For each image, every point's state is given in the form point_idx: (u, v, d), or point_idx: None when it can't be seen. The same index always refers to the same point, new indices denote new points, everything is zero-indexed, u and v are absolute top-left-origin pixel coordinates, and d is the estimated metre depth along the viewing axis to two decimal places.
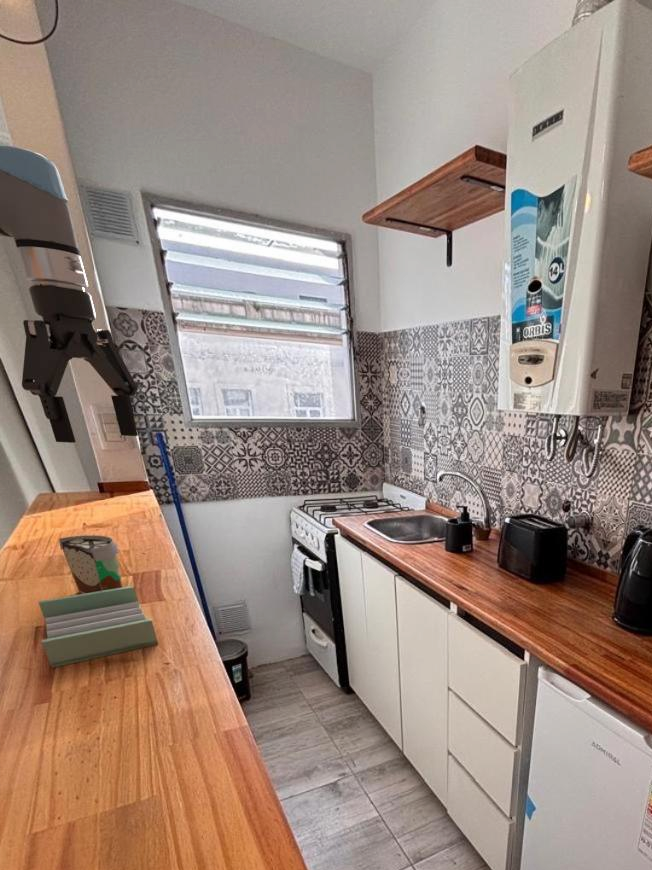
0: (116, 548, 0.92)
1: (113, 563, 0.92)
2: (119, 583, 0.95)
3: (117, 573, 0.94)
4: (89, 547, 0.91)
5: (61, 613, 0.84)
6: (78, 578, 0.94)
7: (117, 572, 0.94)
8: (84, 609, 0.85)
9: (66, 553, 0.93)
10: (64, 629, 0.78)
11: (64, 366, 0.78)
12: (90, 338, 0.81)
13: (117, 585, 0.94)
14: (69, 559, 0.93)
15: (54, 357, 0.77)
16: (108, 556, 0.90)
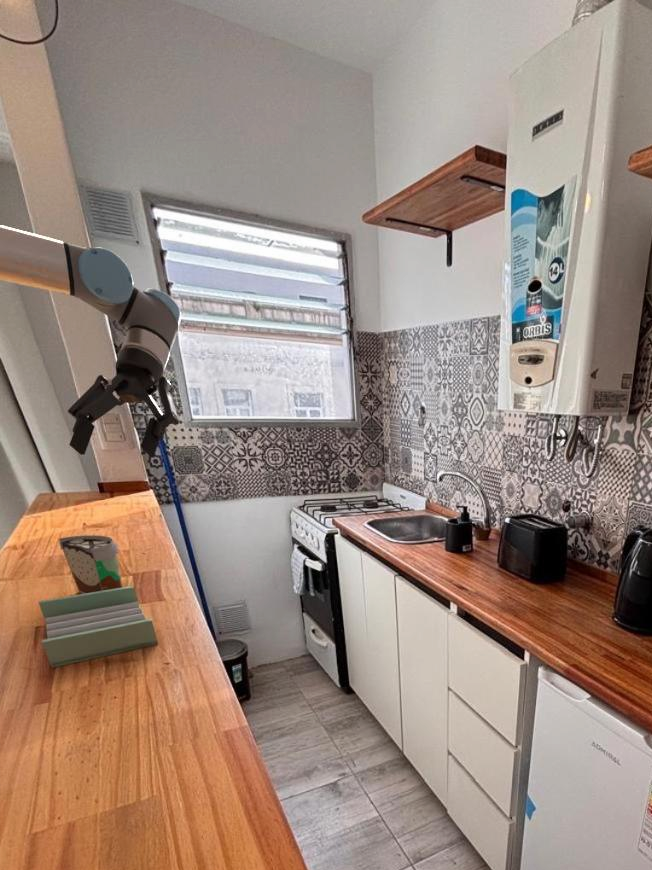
0: (116, 548, 0.92)
1: (113, 563, 0.92)
2: (119, 583, 0.95)
3: (117, 573, 0.94)
4: (89, 547, 0.91)
5: (61, 613, 0.84)
6: (78, 578, 0.94)
7: (117, 572, 0.94)
8: (84, 609, 0.85)
9: (66, 553, 0.93)
10: (64, 629, 0.78)
11: None
12: None
13: (117, 585, 0.94)
14: (69, 559, 0.93)
15: (153, 401, 0.99)
16: (108, 556, 0.90)
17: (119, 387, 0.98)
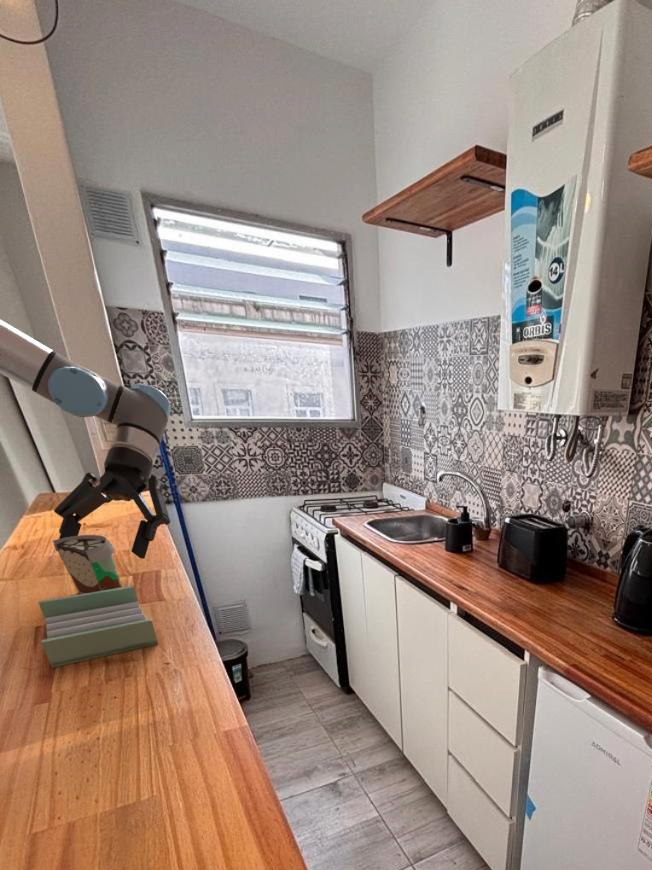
0: (111, 547, 0.92)
1: (109, 563, 0.91)
2: (118, 582, 0.94)
3: (115, 572, 0.93)
4: (84, 548, 0.90)
5: (61, 613, 0.84)
6: (76, 579, 0.94)
7: (114, 571, 0.93)
8: (84, 609, 0.85)
9: (62, 555, 0.92)
10: (64, 629, 0.78)
11: None
12: None
13: (116, 585, 0.94)
14: (66, 561, 0.93)
15: (143, 500, 0.98)
16: (104, 557, 0.89)
17: (108, 486, 0.97)
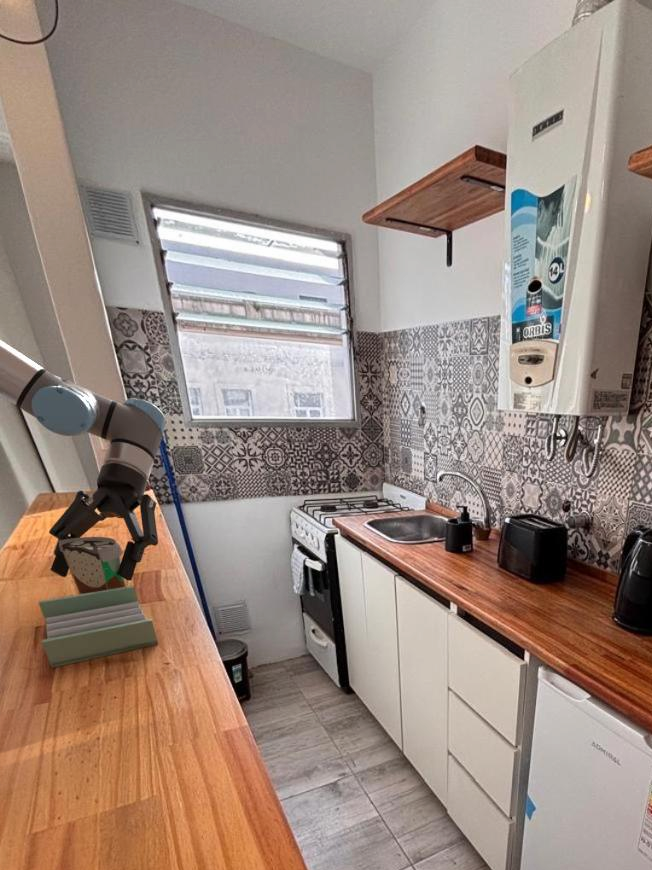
0: (120, 549, 0.92)
1: (118, 564, 0.92)
2: (123, 584, 0.94)
3: None
4: (93, 548, 0.90)
5: (61, 613, 0.84)
6: (80, 580, 0.93)
7: None
8: (84, 609, 0.85)
9: (67, 555, 0.92)
10: (64, 629, 0.78)
11: None
12: None
13: (122, 586, 0.94)
14: (70, 561, 0.92)
15: (134, 518, 0.96)
16: (114, 557, 0.90)
17: (100, 503, 0.96)
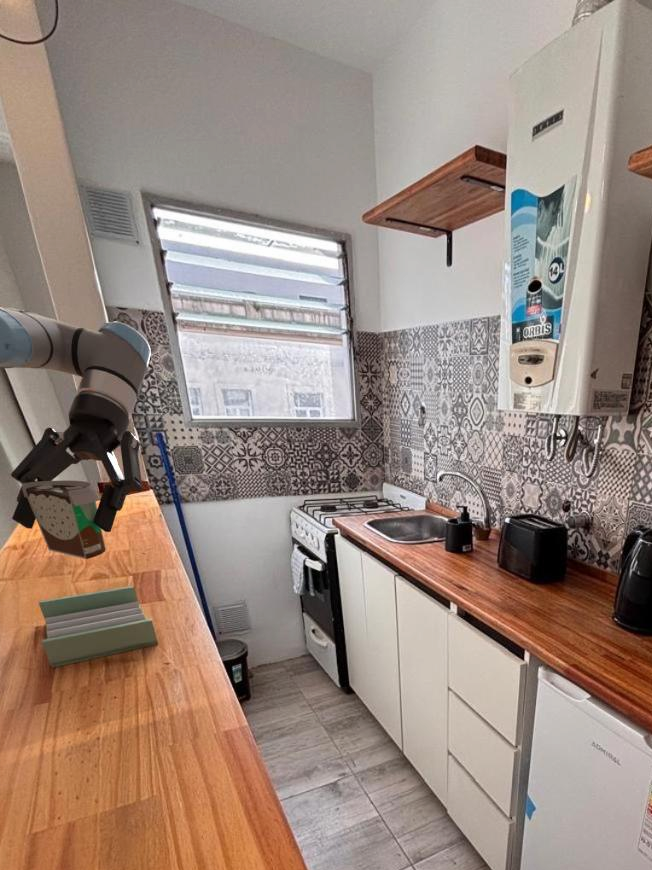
0: (96, 493, 0.77)
1: (93, 511, 0.76)
2: (101, 537, 0.79)
3: None
4: (63, 491, 0.75)
5: (61, 613, 0.84)
6: (48, 532, 0.78)
7: None
8: (84, 609, 0.85)
9: (32, 502, 0.77)
10: (64, 629, 0.78)
11: None
12: None
13: (99, 539, 0.78)
14: (36, 509, 0.77)
15: (113, 460, 0.81)
16: (88, 501, 0.74)
17: (73, 442, 0.80)
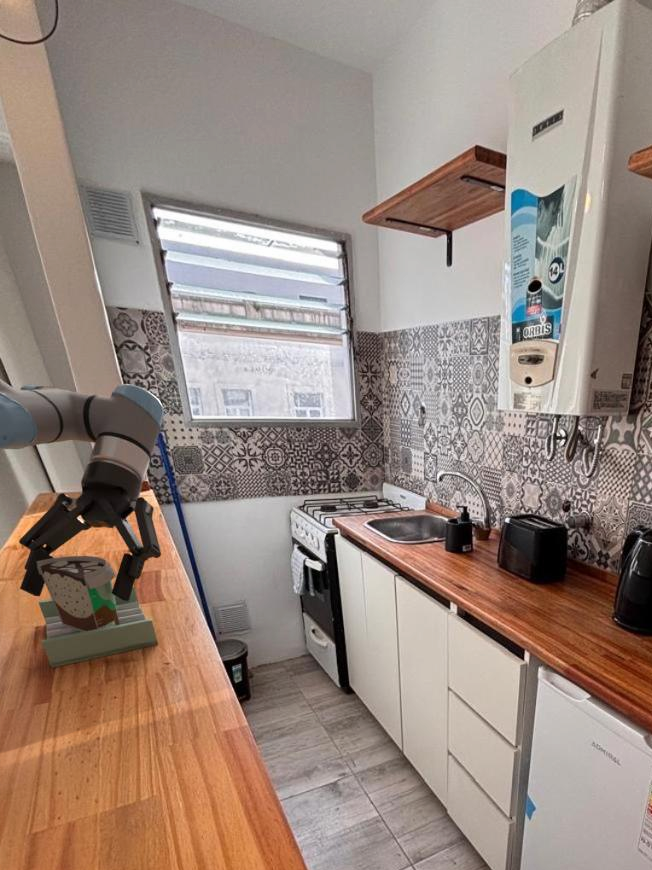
0: (111, 571, 0.76)
1: (108, 590, 0.75)
2: (115, 613, 0.78)
3: (113, 601, 0.77)
4: (78, 571, 0.74)
5: None
6: (63, 609, 0.77)
7: (113, 600, 0.77)
8: None
9: (46, 579, 0.76)
10: (64, 629, 0.78)
11: None
12: None
13: (114, 616, 0.77)
14: (51, 586, 0.76)
15: (128, 527, 0.80)
16: (104, 582, 0.73)
17: (85, 510, 0.79)
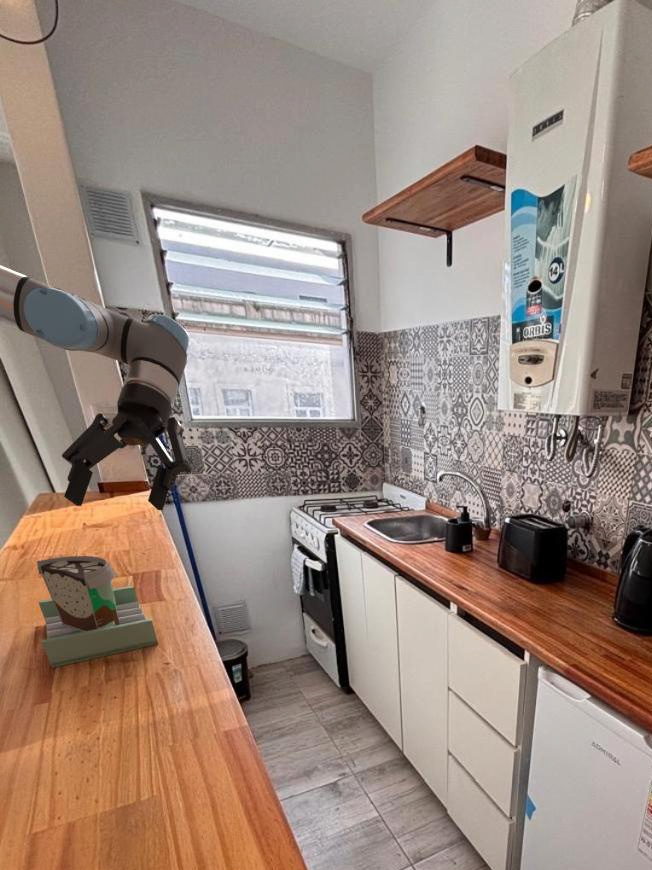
0: (111, 571, 0.76)
1: (108, 590, 0.75)
2: (115, 613, 0.78)
3: (113, 601, 0.77)
4: (78, 571, 0.74)
5: None
6: (63, 609, 0.77)
7: (113, 600, 0.77)
8: None
9: (46, 579, 0.76)
10: (64, 629, 0.78)
11: None
12: None
13: (114, 616, 0.77)
14: (51, 586, 0.76)
15: (161, 444, 0.86)
16: (104, 582, 0.73)
17: (122, 428, 0.86)
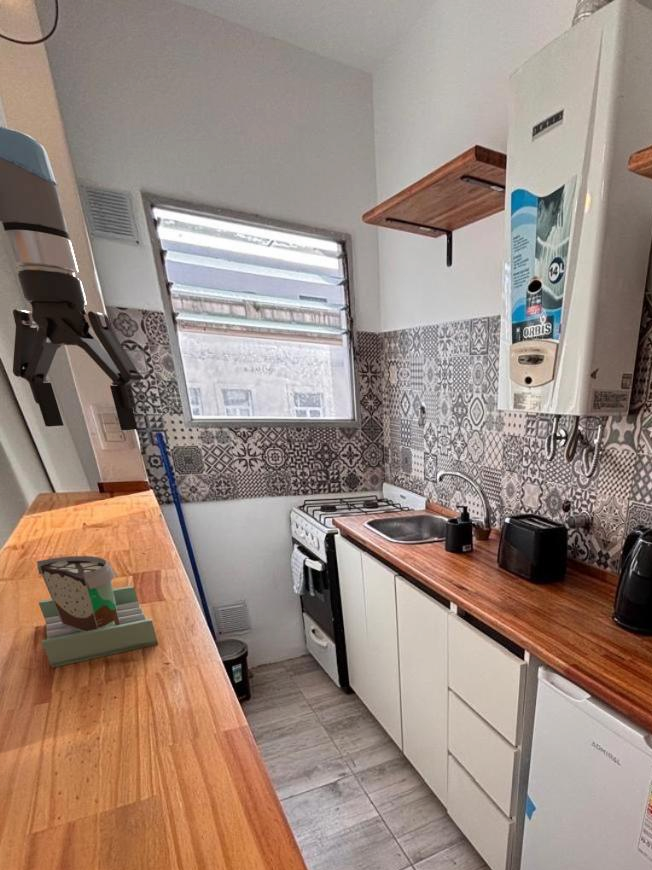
0: (111, 571, 0.76)
1: (108, 590, 0.75)
2: (115, 613, 0.78)
3: (113, 601, 0.77)
4: (78, 571, 0.74)
5: None
6: (63, 609, 0.77)
7: (113, 600, 0.77)
8: None
9: (46, 579, 0.76)
10: (64, 629, 0.78)
11: None
12: None
13: (114, 616, 0.77)
14: (51, 586, 0.76)
15: (97, 347, 0.80)
16: (104, 582, 0.73)
17: (49, 332, 0.78)
